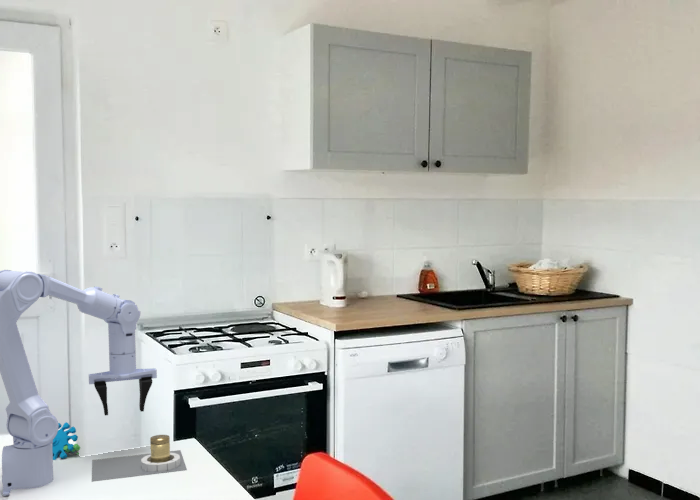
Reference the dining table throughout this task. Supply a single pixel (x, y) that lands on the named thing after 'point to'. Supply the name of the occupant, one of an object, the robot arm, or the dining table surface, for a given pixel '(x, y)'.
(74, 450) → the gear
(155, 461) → the brass shaft
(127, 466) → the housing plate
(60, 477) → the dining table surface
